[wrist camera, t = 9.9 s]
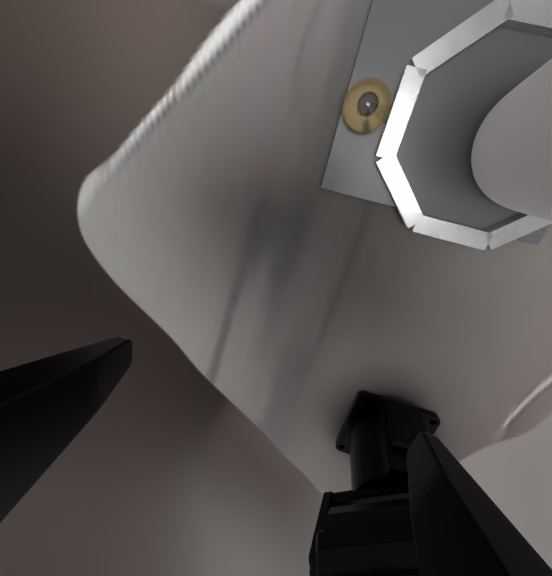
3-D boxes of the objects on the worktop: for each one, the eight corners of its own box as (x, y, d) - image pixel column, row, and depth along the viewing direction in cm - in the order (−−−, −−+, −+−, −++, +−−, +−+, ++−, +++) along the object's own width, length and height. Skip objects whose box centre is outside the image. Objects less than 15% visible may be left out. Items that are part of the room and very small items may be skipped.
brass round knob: (378, 138, 17) (383, 135, 15) (337, 128, 17) (337, 124, 15) (394, 89, 16) (401, 80, 14) (350, 79, 16) (352, 69, 14)
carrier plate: (532, 242, 18) (537, 244, 17) (320, 187, 19) (320, 187, 18) (657, 35, 14) (668, 31, 13) (378, -20, 15) (380, -27, 14)
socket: (536, 262, 18) (545, 266, 17) (354, 214, 18) (355, 216, 18) (680, 33, 13) (700, 25, 12) (432, -16, 14) (437, -26, 13)
